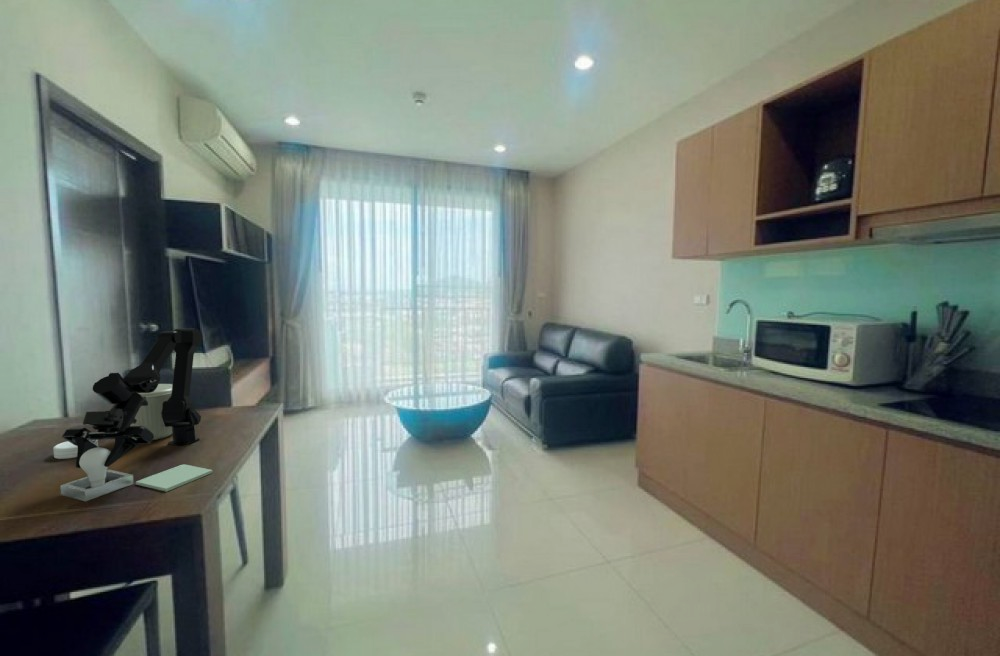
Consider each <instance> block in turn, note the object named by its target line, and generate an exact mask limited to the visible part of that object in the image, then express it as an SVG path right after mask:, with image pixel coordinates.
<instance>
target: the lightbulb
mask: <svg viewBox="0 0 1000 656" xmlns="http://www.w3.org/2000/svg"><path fill="white" fill-rule="evenodd" d="M110 452H111V450H110V449H107V448H106V447H101V446H98V448H93V449H90V450H88V451H86V452H85V453H84V454H83V455H82V456H81V458H80V461H79V465H80V467H81V468H80V469H82V470H83V471H84V472H85V474H86V475H87V477H88V478H89V481H90V482H91V486H90V488H92V487H95V486H98V485H101V484H104V483H106V481H105V478H106V471H107V470H108V468H109V467H105V466H104V464H105V462H106V459H107V458H108V456H109V454H110Z"/></svg>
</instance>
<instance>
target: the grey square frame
mask: <svg viewBox="0 0 1000 656" xmlns="http://www.w3.org/2000/svg"><path fill="white" fill-rule="evenodd" d="M107 481H108V482H107ZM131 485H134V474H130V473H126V472H121V471H118V470H112V469H107V471H106V478H105V483H104V484H101V485H98V486H95V487H92V488H91V482H90V481H89V478H88V476H85V477H81V478H79V479H76V480H73V481H69V482H66V483H64V484H61V485H60V487H59V488H60V496H64V497H68V498H70V499H75V500H78V501H83V502H88V501H91V500H94V499H97V498H99V497H101V496H102V497H103V496H104V495H108V494H110V493H113V492H115V491H118V490H120V489H123V488H126V487H130V486H131ZM89 487H90V488H89Z"/></svg>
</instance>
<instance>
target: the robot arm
mask: <svg viewBox="0 0 1000 656" xmlns="http://www.w3.org/2000/svg"><path fill="white" fill-rule="evenodd" d="M202 340H203V333H202V332H201V331H200V330H199V329H198V328H175V329H174V330H173V331H171V330H170V331H161V332H159V334H158V336H157V340H156V341H155V343H154V344H153V346H152V347H151V349H150V351H149V352H148V353H147V355H146V356H145V358H144V359H143V361H142V362H141V363H140V364H139V365H138V366H136V367H134V368H132V369H130V370H129V372H128V373H127V374H126V375H125V376H124V377H122V375H121V374H120V373H119V372H109V373H108V375H107V376H105V377H102V378H100V379H99V380H97V381H96V382H94V384H93V385H92V391H93V392H94V393H95V394H97V396H99V397H100V398H101V399H102V400H104V401H105V402H106V403H107V404H111V405H112V406H111V408H110V409H109V410H105V411H102V410H101V411H86V412H85V415H84V419H83V421H82V425H84V426H86V425H90V426H92V428H93V429H94V430H97V431H94V432H93V431H91V430H90V429H88V428H86V427H71V428H68V429H65V431H64V433H63V434H62V436H61V438H62V439H64V440H65V441H66V442H67V441H69V442H70V443H72V444H74V445H75V446H78V453H77V457H76V463H75V467H76V468H77V469H82V468H81V467H80V465H79V461H80V458H81V456H82V455H83V454H84V453H85V452H86V451H88V450H90V449H93V448H98V447H99V445H98V446H96V445H95V444H93V443H94V442H95V441H96V440H98V441H99V440H100V441H101V440H114V445H113V447H112V448H111V450H110V454H109V456H108V458H107V459H106V462H105V464H104V466H105V467H108V468H109V467H110V466H111V465H113V464H114V463H115V462H116V461H118V460H119V459H120V458H121V457H123V456H125V455H126V454H128V453H129V452H131V451H132V450H133V449H134V448H138V447H140V445H149V444H152V442H153V441H154V440H153V438H154V435H153V433H152V432H151V431H149V430H148V429H147V428H146V427H145V426H130V425H131V424H135V423H136V421H137V420H136V419H135V416H136V414H137V412H138V411H139V409H140V407H141V406H147V405H148V402H147V400H146V397H142V396H141V395H140V394H138V393H151V392H154V391H155V389H156V388H157V386H158V384H160V381H161V379H162V378H161V377H162V376H161V373H160V372H161V369H162V368H163V367H164V365H165V364H166V362H167V360H168V358H170V356H171V354H172V352H173V351H174V353H175V358H174V365H173V366H174V368H173V378H172V383H171V384H172V393H171V397H170V398H169V399H168V400H167V401H164V402H163V404H162V412H161V414H162V419H163V422H164V425H165V427H171V426H172V434H171V435H172V440H171V441H168V442H167V444H168V445H173V446H178V447H181V446H185V445H188V444H191V443H194V442H198V441H200V438H199V437H196V428H195V426H196V425H199V424H200V423H201V420H202V419H201V418H202V416H201V415H200V414H199V412H198V411H196V410H195V402H194V401H193V399H192V397H191V396H190V395H191V387H192V386H191V384H192V374H193V365H194V356H195V354H196V352H197V351H198V350H199V349H200V347H201V344H202Z"/></svg>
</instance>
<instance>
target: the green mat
mask: <svg viewBox="0 0 1000 656" xmlns="http://www.w3.org/2000/svg"><path fill="white" fill-rule="evenodd" d="M213 471H214V470H213V469H210V468H209V469H208V468H204V467H199V466H194V465H190V464H180V465H178V466H175V467H172V468H169V469H167V470H163V471H161V472H158V473H155V474H152V475H149V476H147V477H144V478H142V479H140V480H137V481H135V485H136V486H137V485H138V486H142V487H145V488H149V489H153V490H158V491H161V492H166V493H167V492H168V491H169V492H170V491H171V490H173V489H176V488H179V487H181V486H184V485H185V484H189V483H191V482H193V481H196V480H198V479H201V478H203V477H205V476H208V475H211V474H213Z"/></svg>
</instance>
